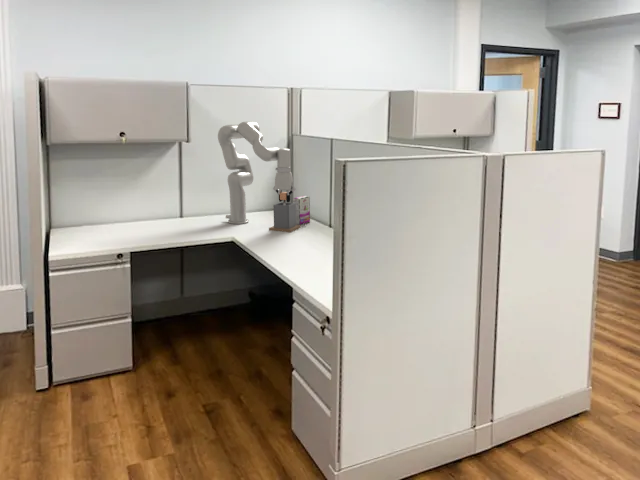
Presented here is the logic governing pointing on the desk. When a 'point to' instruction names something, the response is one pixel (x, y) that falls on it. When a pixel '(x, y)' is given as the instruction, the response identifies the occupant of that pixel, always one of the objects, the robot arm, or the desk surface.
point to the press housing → (285, 217)
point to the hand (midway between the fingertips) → (284, 201)
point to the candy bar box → (302, 209)
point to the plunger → (283, 197)
